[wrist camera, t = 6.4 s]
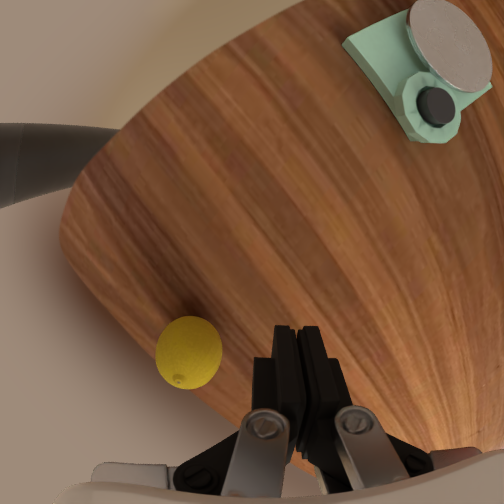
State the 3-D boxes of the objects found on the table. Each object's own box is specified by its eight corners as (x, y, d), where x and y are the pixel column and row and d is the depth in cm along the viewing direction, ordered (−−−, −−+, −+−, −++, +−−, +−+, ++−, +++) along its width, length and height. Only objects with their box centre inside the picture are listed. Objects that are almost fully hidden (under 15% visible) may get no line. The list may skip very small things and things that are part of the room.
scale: (408, 154, 21) (429, 156, 18) (333, 49, 19) (344, 34, 15) (485, 96, 18) (506, 93, 15) (425, 5, 16) (441, -7, 12)
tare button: (429, 130, 17) (440, 130, 16) (410, 99, 17) (420, 96, 15) (450, 115, 17) (461, 114, 15) (432, 84, 16) (442, 81, 15)
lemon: (238, 327, 27) (231, 387, 19) (201, 356, 28) (185, 414, 21) (194, 289, 26) (170, 341, 18) (159, 323, 27) (130, 376, 19)
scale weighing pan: (397, 56, 15) (402, 54, 15) (411, -17, 13) (414, -20, 12) (481, 112, 16) (487, 112, 15) (488, 37, 13) (493, 36, 12)
